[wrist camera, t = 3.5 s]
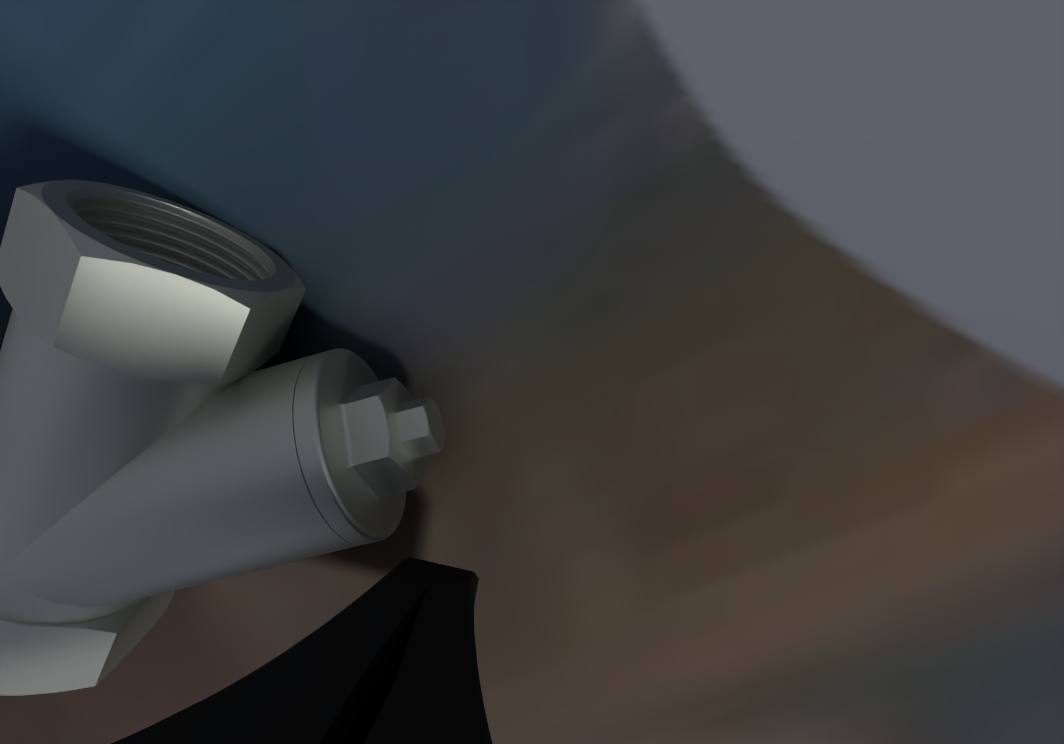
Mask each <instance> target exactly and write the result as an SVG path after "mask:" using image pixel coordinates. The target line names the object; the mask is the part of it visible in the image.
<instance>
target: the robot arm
mask: <svg viewBox="0 0 1064 744" xmlns="http://www.w3.org/2000/svg"><path fill="white" fill-rule="evenodd" d="M478 580H479V578H478V577H477V575H476V574H475V573H474V572H473V571H468V570H464V569H459V568H455V567H451V566H446V565H442V564H437V563H433V562H428V561H424V560H419V559H415V558H410V557H408V558H407V559H405V560H403V561H402V562H400V563H399V564H398V565H397V566H396V567H395V568H394V569H393V570H391V571H390V572H389V573H388V574H387V575H386V576H384V577H383V578H382V579H381V580H380V581H379V582H377V583H376V584H375V585H374V586H373V587H371V588H370V589H369V590H368V591H367V592H365V593H364V594H363V595H362V596H360V597H359V598H358V599H357V600H355V601H354V602H353V603H351V604H350V605H349V606H348V607H346V608H345V609H344V610H342V611H341V612H340V613H339V614H337V615H336V616H335V617H333V618H332V619H331V620H329V621H328V622H327V623H325V624H324V625H323V626H321V627H320V628H318V629H317V630H316V631H314V632H313V633H311V634H310V635H308V636H307V637H305V638H304V639H302V640H301V641H300V642H298V643H297V644H295V645H294V646H292V647H291V648H289V649H288V650H287V651H285V652H284V653H282V654H281V655H279V656H278V657H276V658H274V659H273V660H271V661H270V662H268V663H266V664H265V665H263V666H262V667H260V668H258V669H257V670H255V671H253V672H252V673H250V674H249V675H247V676H245V677H243V678H242V679H240V680H238V681H236V682H235V683H233V684H231V685H230V686H228V687H226V688H224V689H223V690H221V691H219V692H217V693H215V694H213V695H211V696H210V697H208V698H206V699H204V700H202V701H200V702H198V703H196V704H194V705H192V706H190V707H188V708H186V709H184V710H182V711H180V712H178V713H176V714H174V715H172V716H170V717H168V718H166V719H164V720H162V721H160V722H158V723H156V724H154V725H152V726H150V727H148V728H145V729H143V730H141V731H139V732H137V733H134V734H132V735H130V736H128V737H125V738H123V739H121V740H118V741H116V742H114V743H112V744H492V740H491V736H490V732H489V728H488V723H487V718H486V714H485V709H484V703H483V698H482V692H481V686H480V680H479V673H478V666H477V656H476V646H475V635H474V602H475V597H476V591H477V586H478Z"/></svg>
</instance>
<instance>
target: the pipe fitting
mask: <svg viewBox="0 0 1064 744" xmlns="http://www.w3.org/2000/svg"><path fill="white" fill-rule="evenodd" d="M0 287H1V289H2V291H3V293H4V295H5V297H6V299H7V300H8V302H9V303H10V305H11V306H12V308H13V309H12V312H11V316H10V319H9V323H8V326H7V330H6V333H5V337H4V340H3V344H2V347H1V350H0V695H31V694H43V693H54V692H62V691H69V690H75V689H81V688H87V687H93V686H96V685H97V684H98V683H99V682H100V681H101V680H102V679H103V678H104V677H105V676H106V675H107V674H109V673H110V672H111V671H112V670H113V669H114V668H115V667H116V666H117V665H118V664H119V663H120V662H121V661H122V660H123V659H124V658H125V657H126V656H127V654H128V653H129V652H130V651H131V650H132V649H133V648H134V647H135V646H136V645H137V644H138V643H139V641H140V640H141V639H142V638H143V637H144V636H145V635H146V634H147V632H148V631H149V630H150V629H151V628H152V627H153V625H154V624H155V623H156V622H157V621H158V619H159V618H160V617H161V616H162V615H163V614H164V612H165V611H166V609H167V607H168V605H169V602H170V600H171V598H172V596H173V593H174V591H175V590H179V589H183V588H187V587H191V586H196V585H200V584H204V583H208V582H212V581H216V580H221V579H225V578H229V577H233V576H237V575H241V574H245V573H249V572H253V571H257V570H261V569H266V568H270V567H274V566H278V565H282V564H286V563H290V562H294V561H298V560H302V559H306V558H310V557H315V556H319V555H323V554H327V553H331V552H335V551H339V550H343V549H347V548H351V547H355V546H359V545H365V544H369V543H373V542H377V541H382V540H384V539H386V538H388V537H389V536H390V535H391V534H393V533H394V531H395V530H396V529H397V527H398V525H399V523H400V521H401V518H402V515H403V512H404V507H405V502H406V491H410V490H414V489H415V488H416V486H417V485H418V484H419V483H420V482H421V480H422V479H423V477H424V475H425V472H426V468H427V455H431V454H435V453H439V452H440V451H441V450H442V449H443V447H444V444H445V430H444V425H443V420H442V417H441V414H440V411H439V409H438V407H437V405H436V403H435V402H434V401H433V400H432V399H431V398H430V397H429V396H427V397H423V398H420V399H416V400H413V398H412V397H411V395H410V393H409V392H408V390H407V389H406V388H405V387H404V386H403V385H402V384H401V383H400V382H399V381H398V380H397V379H396V378H395V377H392V378H389V379H385V380H381V381H379V379H378V378H377V376H376V375H375V373H374V372H373V370H372V369H371V368H370V366H369V365H368V364H367V363H366V362H365V361H364V360H363V359H362V358H361V357H360V356H358V355H357V354H355V353H354V352H352V351H350V350H347V349H343V348H336V349H332V350H328V351H325V352H321V353H318V354H314V355H311V356H307V357H304V358H300V359H297V360H293V361H290V362H286V363H283V364H279V365H275V366H272V367H268V368H265V369H261V370H258V371H255V370H257V369H258V368H259V367H261V366H262V365H264V364H265V363H266V362H267V361H269V360H270V359H271V358H272V357H273V356H275V355H276V354H277V353H278V352H279V350H280V348H281V346H282V344H283V341H284V339H285V337H286V334H287V332H288V330H289V328H290V325H291V323H292V321H293V318H294V316H295V314H296V311H297V309H298V307H299V305H300V302H301V300H302V298H303V295H304V293H305V291H306V288H305V286H304V285H303V283H302V282H301V281H300V279H299V278H298V276H297V275H296V274H295V273H294V271H293V270H292V269H291V268H290V267H289V266H288V265H287V263H286V262H285V261H284V260H283V259H281V258H280V257H279V256H278V255H277V254H276V253H274V252H273V251H272V250H270V249H269V248H268V247H266V246H265V245H263V244H262V243H260V242H259V241H257V240H255V239H254V238H252V237H250V236H249V235H247V234H245V233H243V232H241V231H240V230H238V229H236V228H234V227H232V226H230V225H228V224H226V223H224V222H221V221H219V220H217V219H215V218H213V217H211V216H208V215H206V214H204V213H201V212H199V211H196V210H194V209H191V208H189V207H186V206H184V205H181V204H178V203H175V202H173V201H170V200H167V199H164V198H161V197H158V196H154V195H151V194H148V193H144V192H141V191H137V190H133V189H129V188H125V187H121V186H116V185H111V184H106V183H101V182H93V181H85V180H57V181H47V182H41V183H35V184H30V185H26V186H21V187H17V188H16V192H15V195H14V199H13V203H12V206H11V210H10V214H9V217H8V221H7V225H6V228H5V232H4V236H3V240H2V243H1V247H0Z"/></svg>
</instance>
